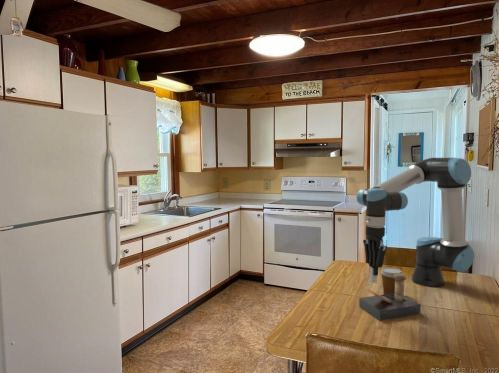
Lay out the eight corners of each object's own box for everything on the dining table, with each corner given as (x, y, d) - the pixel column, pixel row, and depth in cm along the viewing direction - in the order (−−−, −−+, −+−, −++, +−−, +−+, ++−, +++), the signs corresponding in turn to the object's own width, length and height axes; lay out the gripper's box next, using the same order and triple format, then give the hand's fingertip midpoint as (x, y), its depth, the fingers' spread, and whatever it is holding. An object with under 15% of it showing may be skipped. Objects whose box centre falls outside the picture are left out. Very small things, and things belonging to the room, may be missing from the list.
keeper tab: (383, 299, 160) (384, 296, 160) (392, 304, 155) (393, 301, 155) (366, 290, 157) (367, 287, 157) (374, 295, 152) (376, 292, 152)
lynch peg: (399, 305, 163) (400, 272, 161) (407, 310, 158) (408, 276, 156) (390, 307, 161) (391, 274, 160) (397, 311, 156) (399, 277, 155)
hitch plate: (397, 301, 168) (397, 292, 167) (420, 313, 154) (420, 304, 154) (359, 306, 162) (359, 298, 161) (379, 320, 148) (380, 311, 148)
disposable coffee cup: (403, 299, 169) (404, 274, 168) (381, 298, 171) (382, 272, 170) (399, 292, 179) (400, 267, 177) (378, 290, 180) (379, 266, 179)
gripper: (358, 223, 157) (356, 278, 159) (377, 229, 145) (375, 288, 147) (373, 222, 159) (371, 276, 161) (393, 228, 147) (391, 286, 149)
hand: (373, 282), depth 154 cm, fingers closed
